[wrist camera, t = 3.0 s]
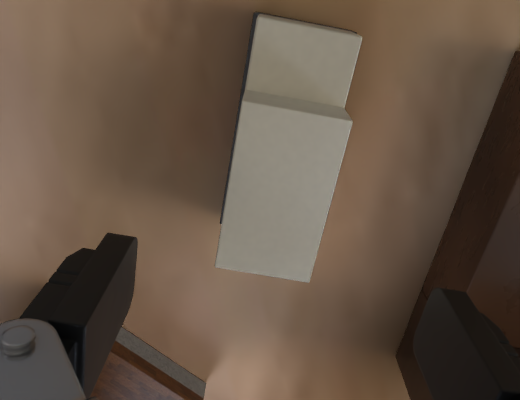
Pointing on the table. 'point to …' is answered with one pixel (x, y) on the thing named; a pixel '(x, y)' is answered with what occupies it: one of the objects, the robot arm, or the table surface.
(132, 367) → the white open shelf
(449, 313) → the robot arm
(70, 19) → the table surface
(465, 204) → the step shelf
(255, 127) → the white stepped block
